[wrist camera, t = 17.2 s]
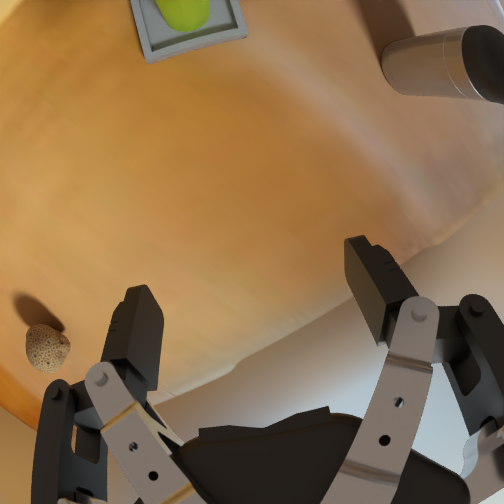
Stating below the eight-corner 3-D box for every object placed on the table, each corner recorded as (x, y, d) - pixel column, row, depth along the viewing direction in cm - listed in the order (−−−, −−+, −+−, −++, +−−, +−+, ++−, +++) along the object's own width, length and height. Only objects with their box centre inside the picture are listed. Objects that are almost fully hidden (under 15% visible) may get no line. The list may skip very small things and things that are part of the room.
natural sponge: (28, 319, 45) (8, 352, 36) (53, 305, 44) (32, 341, 36) (56, 350, 49) (40, 385, 40) (82, 340, 49) (67, 377, 40)
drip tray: (224, -30, 25) (225, -37, 23) (246, 37, 31) (248, 33, 29) (132, -4, 25) (128, -10, 23) (149, 64, 31) (145, 61, 29)
